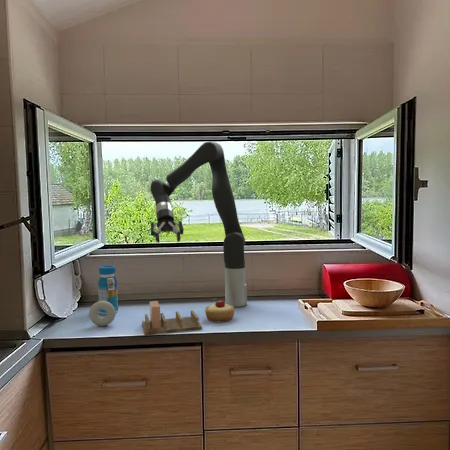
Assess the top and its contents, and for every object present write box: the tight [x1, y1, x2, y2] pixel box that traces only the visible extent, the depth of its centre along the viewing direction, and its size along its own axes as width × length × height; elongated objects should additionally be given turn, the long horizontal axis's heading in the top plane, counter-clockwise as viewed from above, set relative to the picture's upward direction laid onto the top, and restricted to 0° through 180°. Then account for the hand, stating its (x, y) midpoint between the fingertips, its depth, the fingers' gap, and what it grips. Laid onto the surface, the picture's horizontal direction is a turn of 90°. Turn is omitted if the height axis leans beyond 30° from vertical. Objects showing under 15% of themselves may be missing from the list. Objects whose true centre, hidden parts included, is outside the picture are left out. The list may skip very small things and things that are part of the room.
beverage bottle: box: [97, 265, 119, 315], centre depth 179 cm, size 8×8×20 cm
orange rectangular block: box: [149, 300, 161, 329], centre depth 156 cm, size 3×9×8 cm, turn 15°
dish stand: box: [141, 309, 203, 336], centre depth 157 cm, size 21×14×4 cm, turn 105°
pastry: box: [205, 297, 235, 323], centre depth 166 cm, size 12×12×9 cm
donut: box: [88, 300, 117, 327], centre depth 159 cm, size 10×4×10 cm, turn 99°
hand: (168, 241), depth 177 cm, fingers open, 8 cm apart
